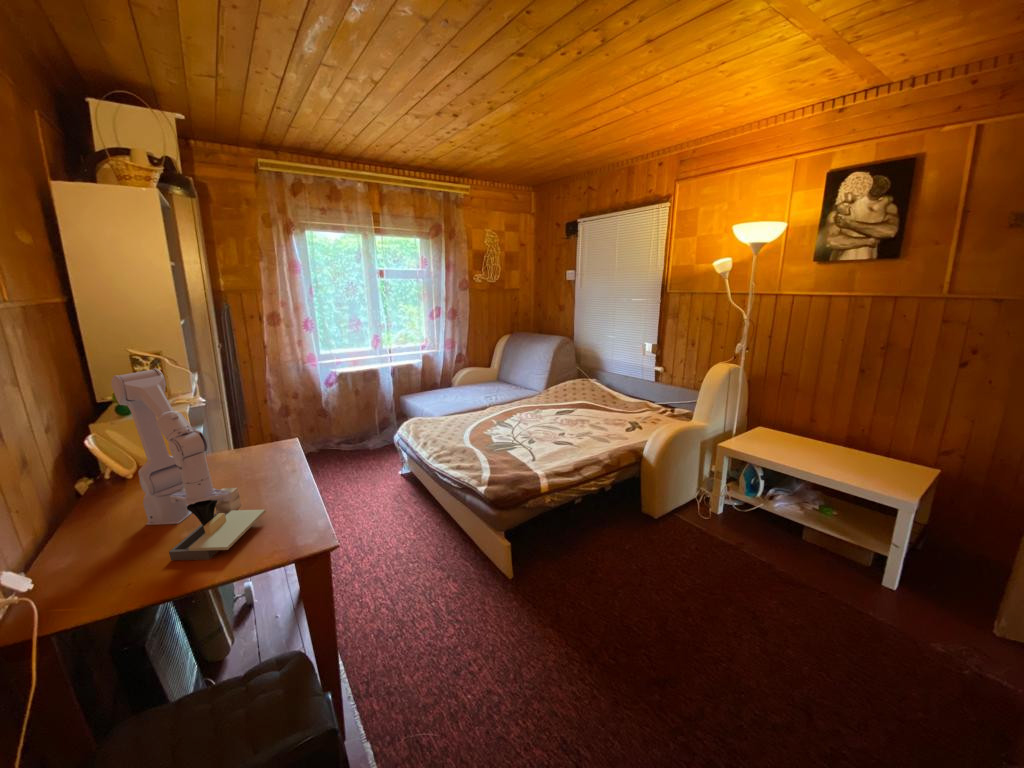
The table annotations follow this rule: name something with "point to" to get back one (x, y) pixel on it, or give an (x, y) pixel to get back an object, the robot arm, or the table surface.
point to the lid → (226, 529)
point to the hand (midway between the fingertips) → (208, 524)
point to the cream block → (229, 502)
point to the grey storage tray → (182, 548)
